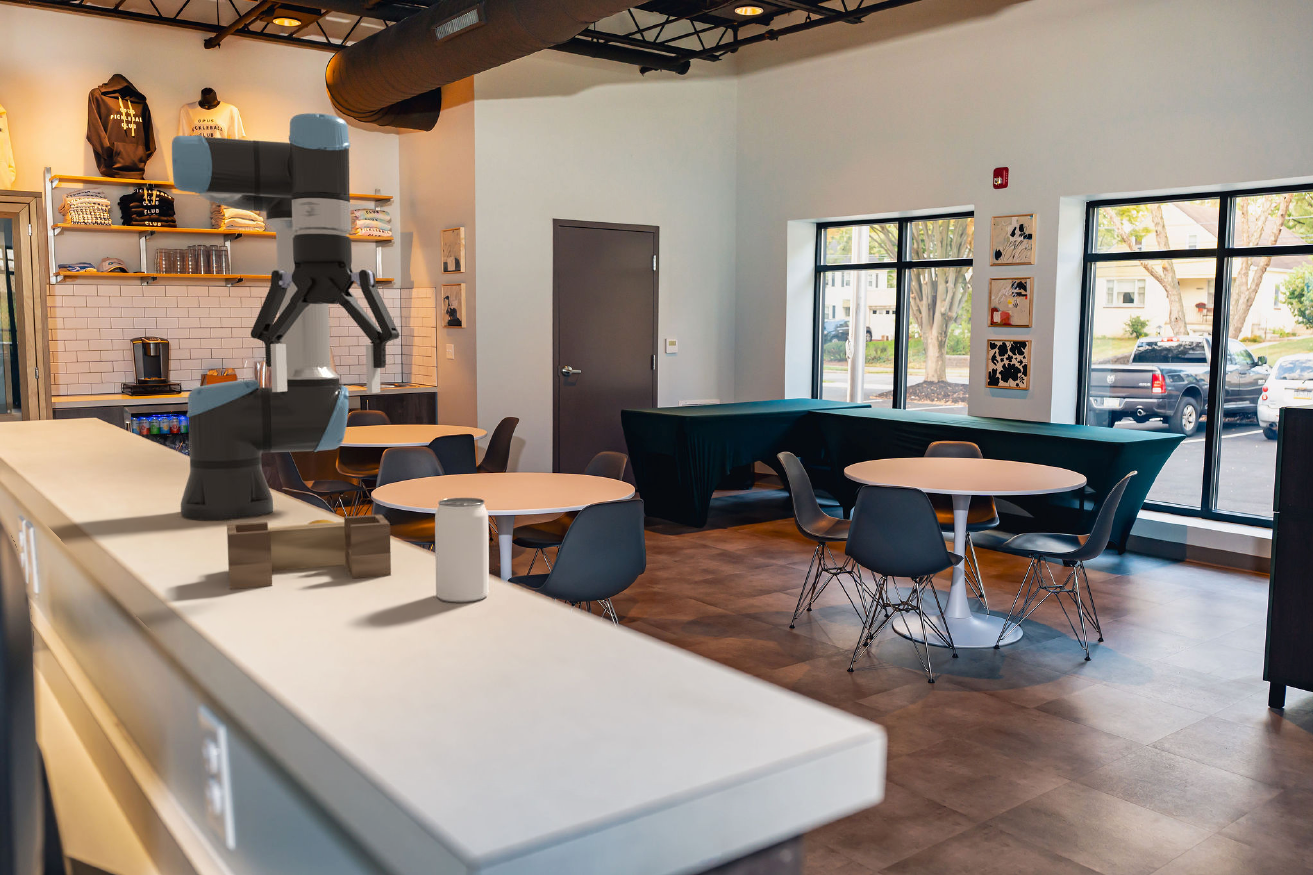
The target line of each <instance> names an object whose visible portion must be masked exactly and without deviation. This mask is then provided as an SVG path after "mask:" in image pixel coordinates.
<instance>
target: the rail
mask: <svg viewBox="0 0 1313 875" xmlns="http://www.w3.org/2000/svg"><path fill="white" fill-rule="evenodd" d="M268 530H270V532H271V562H272V572H273V571H285V570H294V569H295V570H296V569H307V568H318V567H321V568H322V567H332V566H342V565H343V566H345V529H344V521H339V522H338V521H333V523H318V524H308V523H306V524H291V525H276V526H275V525H274V526H268Z"/></svg>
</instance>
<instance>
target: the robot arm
mask: <svg viewBox="0 0 1313 875" xmlns="http://www.w3.org/2000/svg"><path fill="white" fill-rule="evenodd" d="M348 126H349V125H348V124H347V122H346V120H345V119H343V118H341V117H340V116H335V115H332V114H326V113H311V112H310V113H299V114H296V115H293V116H292V117H291V118H290V122H289V135H288V142H286V141H285V142H284V141H280V142H279V141H268V140H267V141H266V140H254V139H253V140H250V139H237V138H227V137H213V136H203V135H199V134H195V135H177V136H174V137H173V139H172V140H171V141H172V142H171V168H172V178H173V180H172V182H173V186H174V187H175V188H176V189H177V190H178V191H181V192H188V193H195V194H198V195H199V196H200V197H202V198H203V199H205V200H207V201H209V202H212V203H215V204H218V205H221V206H224V207H228V208H231V209H237V210H242V211H253V212H263V213H266V214H265V216H266V219H265V220H266V223H267V225H269V227H271V228H272V229H273V230H274V232H275V235H276V238H275V239H276V241H275V243H276V264H277V265H276V266H277V267H276V269H275V270H272V271H271V273H270V274H271V277H270V287H269V289H268V292H267V294H266V296H265V298H264V300H263V304H262V305H261V308H260V310H259V312H258V314H257V317H256V319H255V322H254V323H253V327H252V329H251V331H250V337H251V338H252V339H255V340H259V341H261V342H262V343H263V344H264V347H265V348H264V350H265V351H264V352H265V364H266V367H267V368H270V369H271V386H269V387H261V386H260V385H261V384H260V383H259V380H257V379H245V380H243V379H242V380H233V381H226V382H225V381H224V382H220V383H219V382H218V383H212V384H207V385H202V386H198V387H195V388H193V389H192V390H190V392H189V394H188V397H187V413H186V417H187V418H188V441H189V447H188V448H189V475H188V478H187V481H186V485H185V487H184V488H185V489H184V491H183V495H182V498H181V501H180V515H181V517H183V518H185V519H190V520H199V521H201V520H202V521H219V520H220V521H222V520H223V521H224V520H239V519H246V518H253V517H259V516H262V515H268V514H271V513H273V511H274V499H273V495H272V492H271V490H270V488H269V485H268V483H267V479H266V477H265V474H264V471H263V468H262V453H286V452H287V453H289V452H292V453H294V452H313V453H316V452H318V451H329V450H336V449H338V448H339V447H340V446H341V445H342V443H343V442H344V439H345V435H346V430H347V425H348V424H347V423H348V416H349V394H350V393H349V389H348V388H349V387H347V386H345V385H344V384H343V385H342V384H341V385H340V375H339V374H337V372H335V371H334V370H333V368H332V366H331V341H330V340H331V337H330V336H331V335H330V334H331V333H330V305H339V306H341V307H342V308H343V309H344V310H345V311H346V312H347V314H348V316H350V317H351V319H352V320H353V321H354V322H355V323H356V325H357V326H358V327H359V328H360V330H361V331H362V332H363V333H364V335H366V337H367V338H368V339H369V341H370V342H369V343H370V344H365V367H366V368H365V370H366V372H365V373H366V378H365V379H366V394H377V393H381V369H383V368H384V369H385V368H386V365H387V355H386V354H387V348H386V346H387V344H388V343H389V342H391V341H393V340H397V339H399V337H400V332H399V330H398V328H397V326H396V324H395V322H394V319H393V317H392V316H391V315H390V314H391V313H390V312H389V310H388V308H387V306H386V303H385V302H384V300H383V297H382V295H381V293H380V292H379V289H378V287H377V282H376V281H377V280H376V275H375V272H374V271H373V270H369V269H361V270H360V271H356V272H353V269H352V262H353V261H352V260H353V258H352V257H353V254H352V250H353V249H352V248H353V247H352V239H351V238H350V236H347V234H350V233H351V232H352V217H351V215H352V214H351V197H350V147H351V142H350V140H349V127H348ZM355 283H356V285H357V287H359V288H360V290H361V292H362V295H363V297H364V299H365V301H366V303H367V305H368V307H369V309H370V311H371V313H372V315H373V317H374V319H375V321H376V323H377V324H376V323H375V321H374V320H373V319H372V318H371V316H370V315H368V313H367V312H366V311H365V309H364V308H363V307H362V306H361V304H360V303H359V302H358V299H357V297H356V296H354V294H353V293H352V292H351V291H350V289H351V288H352V287H353V286H354V284H355ZM277 315H278V317H277ZM276 317H277V318H276Z"/></svg>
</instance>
